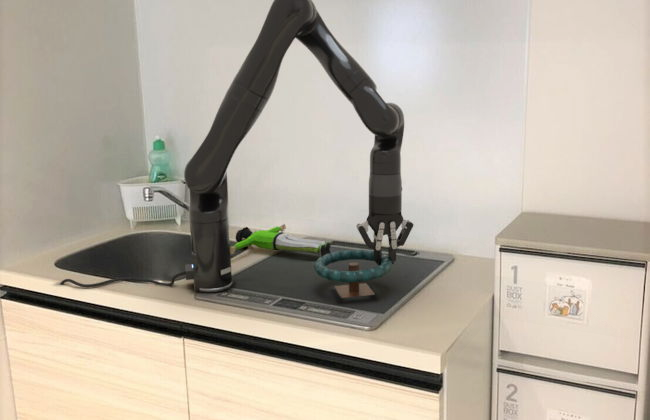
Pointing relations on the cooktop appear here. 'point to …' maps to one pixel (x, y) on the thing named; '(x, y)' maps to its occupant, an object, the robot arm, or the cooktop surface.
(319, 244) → the figurine
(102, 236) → the cooktop surface
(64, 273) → the cooktop surface
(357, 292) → the ring toss
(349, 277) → the ring
